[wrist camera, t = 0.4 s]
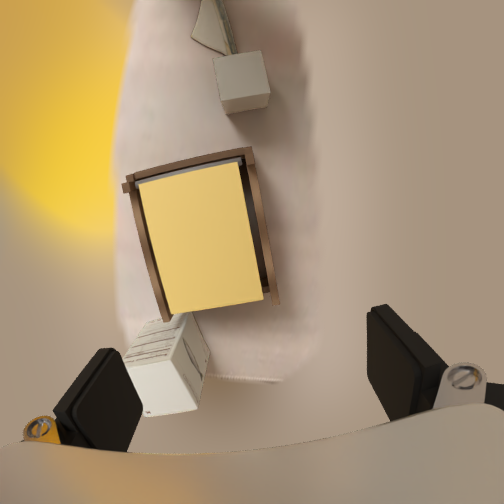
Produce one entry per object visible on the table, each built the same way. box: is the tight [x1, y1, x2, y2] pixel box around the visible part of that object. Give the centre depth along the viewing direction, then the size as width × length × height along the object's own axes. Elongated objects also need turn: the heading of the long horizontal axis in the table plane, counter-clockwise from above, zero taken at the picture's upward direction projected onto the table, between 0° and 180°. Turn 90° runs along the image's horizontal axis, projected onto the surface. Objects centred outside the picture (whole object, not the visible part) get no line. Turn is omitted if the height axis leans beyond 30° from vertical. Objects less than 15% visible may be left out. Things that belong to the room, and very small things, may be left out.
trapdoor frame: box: [122, 147, 280, 323], centre depth 34 cm, size 17×13×8 cm
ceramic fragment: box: [191, 0, 238, 56], centre depth 30 cm, size 14×5×4 cm, turn 14°
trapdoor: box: [135, 157, 264, 314], centre depth 30 cm, size 14×11×1 cm
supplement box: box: [122, 311, 210, 417], centre depth 35 cm, size 7×7×13 cm
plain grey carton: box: [213, 50, 271, 114], centre depth 30 cm, size 5×5×7 cm
